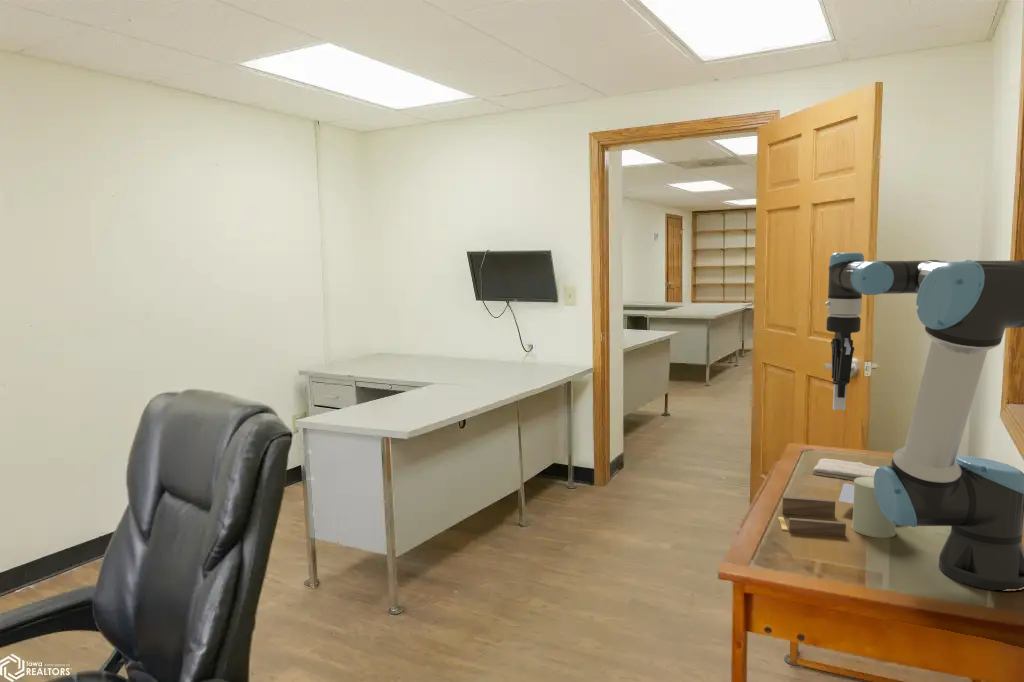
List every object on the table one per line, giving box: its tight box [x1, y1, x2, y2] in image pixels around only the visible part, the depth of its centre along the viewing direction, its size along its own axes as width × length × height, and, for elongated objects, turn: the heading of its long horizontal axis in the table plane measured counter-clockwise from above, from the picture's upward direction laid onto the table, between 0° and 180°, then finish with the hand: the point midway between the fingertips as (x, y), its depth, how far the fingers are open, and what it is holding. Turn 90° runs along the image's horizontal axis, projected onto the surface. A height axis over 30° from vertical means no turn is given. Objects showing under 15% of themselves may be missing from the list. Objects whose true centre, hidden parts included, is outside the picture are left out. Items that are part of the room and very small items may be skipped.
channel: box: [777, 496, 847, 538], centre depth 165 cm, size 13×14×4 cm
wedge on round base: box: [838, 482, 854, 504], centre depth 170 cm, size 9×7×13 cm
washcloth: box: [812, 458, 880, 481], centre depth 202 cm, size 12×18×3 cm, turn 57°
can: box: [851, 477, 897, 539], centre depth 160 cm, size 9×9×12 cm
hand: (839, 409), depth 171 cm, fingers closed
